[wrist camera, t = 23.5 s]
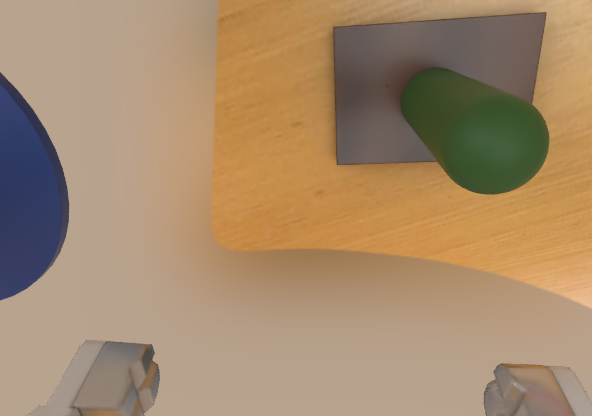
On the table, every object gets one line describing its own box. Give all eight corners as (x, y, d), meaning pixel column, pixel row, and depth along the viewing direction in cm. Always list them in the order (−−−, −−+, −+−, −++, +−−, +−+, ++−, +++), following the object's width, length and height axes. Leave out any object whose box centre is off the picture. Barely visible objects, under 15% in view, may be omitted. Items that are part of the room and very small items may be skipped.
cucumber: (399, 133, 31) (447, 211, 18) (402, 69, 29) (458, 105, 16) (462, 130, 31) (558, 209, 18) (469, 65, 29) (582, 99, 16)
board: (336, 159, 34) (336, 165, 33) (333, 27, 30) (333, 27, 29) (515, 152, 33) (523, 158, 31) (536, 12, 29) (547, 12, 27)
